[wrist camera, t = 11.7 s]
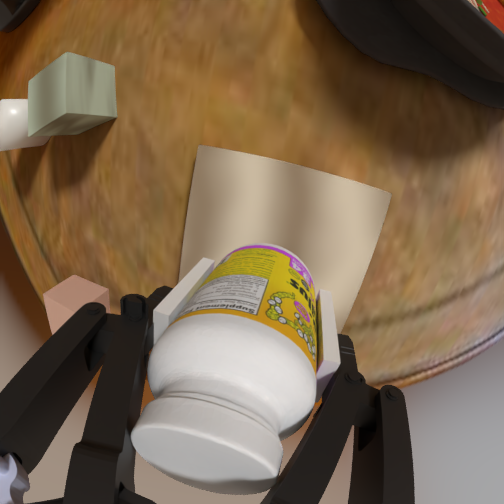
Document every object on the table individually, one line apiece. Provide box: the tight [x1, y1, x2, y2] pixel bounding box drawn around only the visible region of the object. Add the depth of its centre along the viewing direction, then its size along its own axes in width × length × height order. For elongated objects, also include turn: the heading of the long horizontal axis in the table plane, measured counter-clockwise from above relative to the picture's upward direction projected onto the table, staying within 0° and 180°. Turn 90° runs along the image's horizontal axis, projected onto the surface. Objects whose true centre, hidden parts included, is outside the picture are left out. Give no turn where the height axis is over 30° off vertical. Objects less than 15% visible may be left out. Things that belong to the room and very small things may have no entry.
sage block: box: [28, 52, 117, 137], centre depth 16 cm, size 5×5×6 cm
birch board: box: [179, 145, 392, 334], centre depth 20 cm, size 13×16×1 cm
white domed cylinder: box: [0, 99, 51, 151], centre depth 17 cm, size 5×5×6 cm
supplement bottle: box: [131, 243, 317, 495], centre depth 12 cm, size 7×7×13 cm
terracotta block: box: [43, 275, 110, 335], centre depth 23 cm, size 5×5×5 cm
